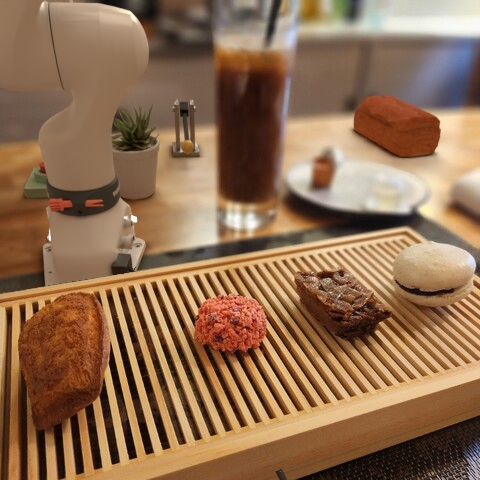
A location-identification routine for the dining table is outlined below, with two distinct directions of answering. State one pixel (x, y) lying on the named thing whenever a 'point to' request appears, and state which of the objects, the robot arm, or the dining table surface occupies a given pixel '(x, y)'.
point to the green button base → (36, 185)
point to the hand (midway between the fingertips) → (29, 43)
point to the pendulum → (177, 145)
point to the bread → (397, 126)
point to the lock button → (42, 167)
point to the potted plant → (135, 156)
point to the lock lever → (185, 128)
